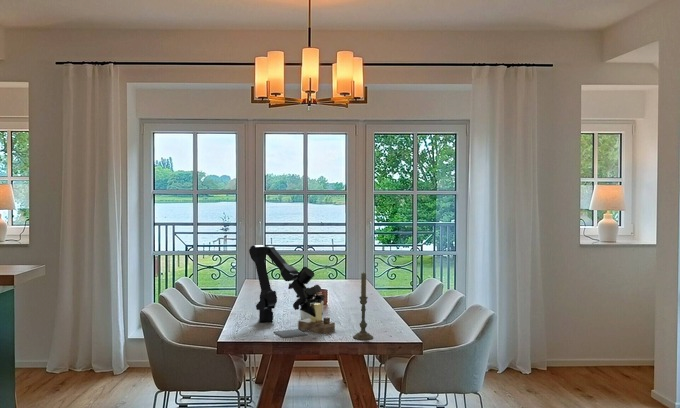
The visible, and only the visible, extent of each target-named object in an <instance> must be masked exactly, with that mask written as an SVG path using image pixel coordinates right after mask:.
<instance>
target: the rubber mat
mask: <svg viewBox="0 0 680 408" xmlns="http://www.w3.org/2000/svg"><path fill="white" fill-rule="evenodd" d="M273 334H275V335H276V336H278V337H280V338H282V339H288V338H289V339H290V338H296V337H299V338H300V337H306V336H308V334H307V333H306V332H303V330H300V329H298V328H296V329H294V328H293V329H287V330H286V329H285V330H277V331H276V330H274V331H273Z"/></svg>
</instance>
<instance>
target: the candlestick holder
mask: <svg viewBox="0 0 680 408" xmlns="http://www.w3.org/2000/svg"><path fill="white" fill-rule="evenodd" d="M360 275H361V277H360V279H361V282H360V284H361V285H360V286H361V287H360V288H361V289H360V291H361V292H360V296H359V303H360V305H361V309H360V310H361V321H360V322H359V324H358V325H359V327H360V330H359V332H357V333H355V334H354V335H353V337H352V338H353V339H354V340H357V341H359V340H360V341H369V340H373V339H374V336H373V335H371V334H370V333H369V332H367V331H366V328H367V325H368V323H367V322H366V310H367V309H366V304H367V303H368V296H367V273H365V272H361V274H360Z"/></svg>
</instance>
